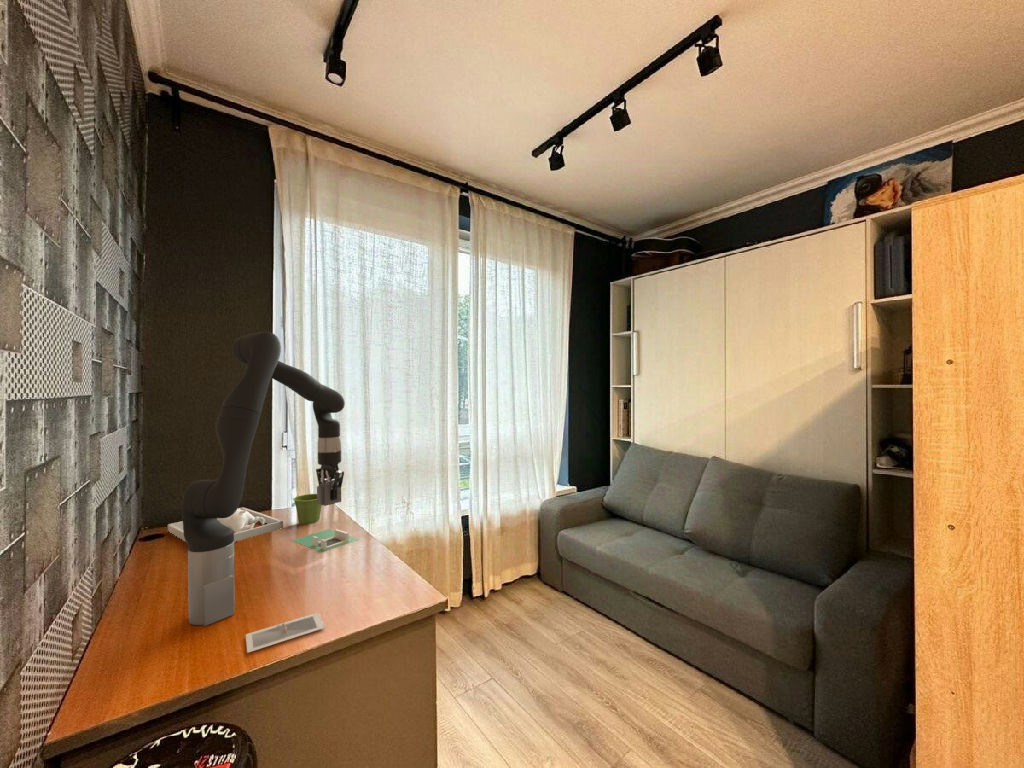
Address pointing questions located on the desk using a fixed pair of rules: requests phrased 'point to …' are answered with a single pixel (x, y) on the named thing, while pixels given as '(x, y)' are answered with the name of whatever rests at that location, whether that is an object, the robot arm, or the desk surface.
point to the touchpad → (283, 632)
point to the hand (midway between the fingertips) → (330, 498)
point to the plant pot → (307, 508)
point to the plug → (326, 494)
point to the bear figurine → (240, 521)
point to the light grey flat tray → (271, 526)
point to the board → (326, 540)
